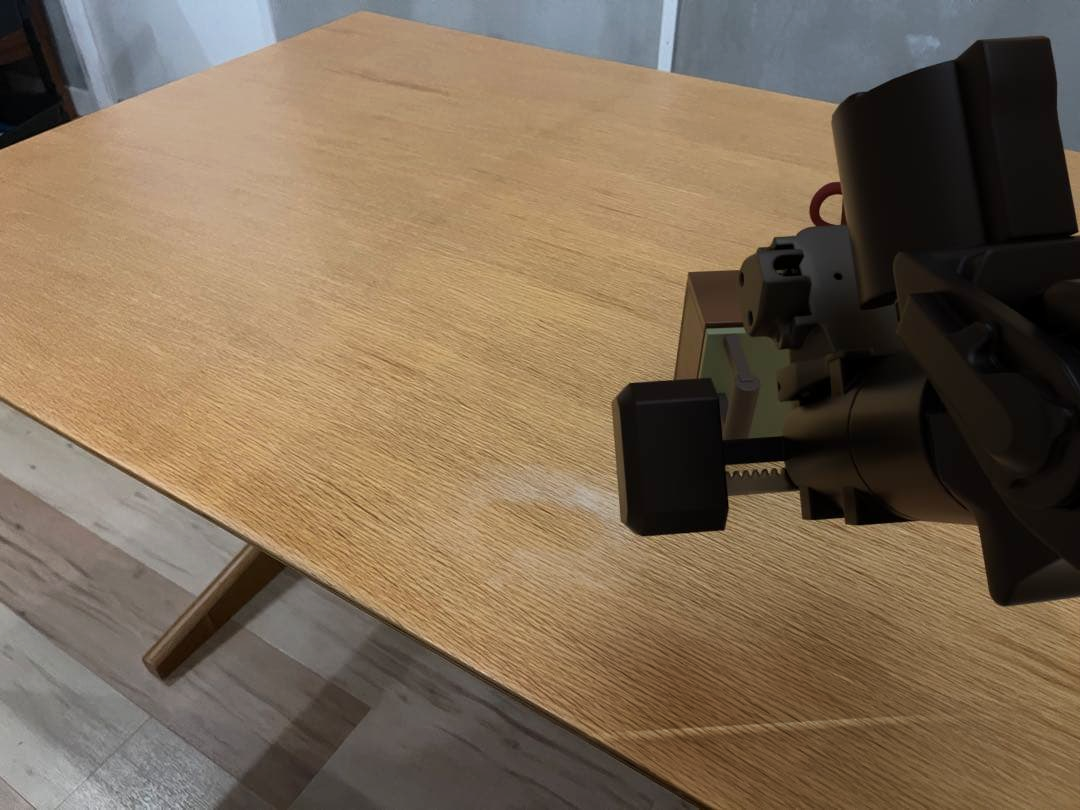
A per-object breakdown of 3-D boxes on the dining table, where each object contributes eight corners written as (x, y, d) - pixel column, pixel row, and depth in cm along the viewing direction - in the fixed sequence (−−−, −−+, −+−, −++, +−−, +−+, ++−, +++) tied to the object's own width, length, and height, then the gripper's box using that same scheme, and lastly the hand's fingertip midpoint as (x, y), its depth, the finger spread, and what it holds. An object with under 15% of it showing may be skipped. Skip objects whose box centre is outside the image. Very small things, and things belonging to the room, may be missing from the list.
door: (805, 500, 56) (842, 383, 49) (703, 505, 56) (726, 388, 49) (781, 439, 60) (812, 323, 53) (687, 443, 60) (705, 328, 53)
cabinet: (871, 440, 61) (918, 314, 53) (685, 448, 61) (705, 323, 53) (844, 387, 66) (884, 263, 58) (671, 394, 65) (687, 271, 57)
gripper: (1169, 181, 28) (932, 289, 44) (631, 210, 27) (583, 310, 43) (1217, 508, 27) (956, 499, 43) (659, 550, 26) (600, 526, 42)
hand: (775, 452), depth 42 cm, fingers open, 9 cm apart
